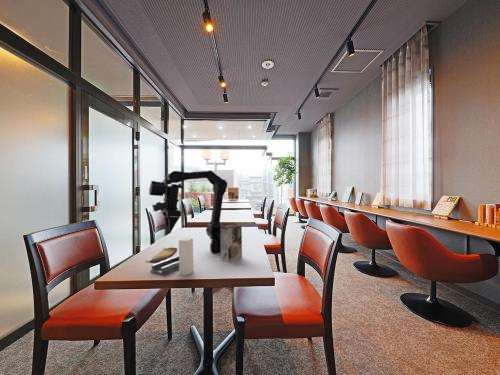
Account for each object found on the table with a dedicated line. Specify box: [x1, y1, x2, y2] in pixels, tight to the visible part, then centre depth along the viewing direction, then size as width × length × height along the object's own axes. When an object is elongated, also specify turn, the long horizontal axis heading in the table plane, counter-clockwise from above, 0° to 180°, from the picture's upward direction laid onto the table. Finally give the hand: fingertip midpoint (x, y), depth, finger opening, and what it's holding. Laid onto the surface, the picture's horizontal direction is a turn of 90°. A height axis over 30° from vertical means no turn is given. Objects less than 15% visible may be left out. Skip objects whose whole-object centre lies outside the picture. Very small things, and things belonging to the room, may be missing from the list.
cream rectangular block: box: [178, 237, 194, 276], centre depth 99 cm, size 4×4×14 cm
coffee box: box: [220, 224, 243, 263], centre depth 117 cm, size 9×6×16 cm
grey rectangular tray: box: [150, 255, 179, 277], centre depth 105 cm, size 16×8×3 cm, turn 149°
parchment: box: [145, 247, 177, 263], centre depth 124 cm, size 25×10×1 cm, turn 0°
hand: (168, 228), depth 115 cm, fingers open, 9 cm apart
